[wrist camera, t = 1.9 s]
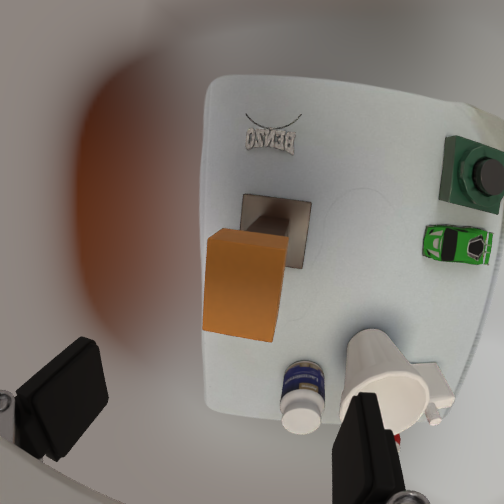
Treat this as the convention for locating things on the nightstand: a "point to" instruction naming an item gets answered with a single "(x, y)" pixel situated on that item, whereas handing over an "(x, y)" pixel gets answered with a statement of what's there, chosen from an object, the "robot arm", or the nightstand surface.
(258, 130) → the necklace
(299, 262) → the stand
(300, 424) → the pill bottle
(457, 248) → the toy car
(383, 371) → the cup
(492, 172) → the dark grey button cap
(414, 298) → the nightstand surface
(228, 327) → the orange block
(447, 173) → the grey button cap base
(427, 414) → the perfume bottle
